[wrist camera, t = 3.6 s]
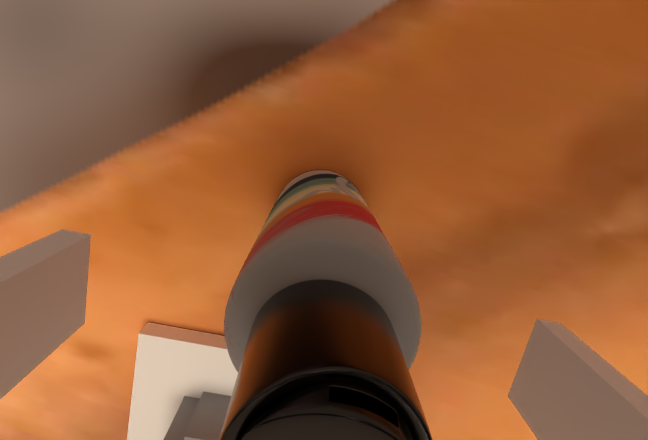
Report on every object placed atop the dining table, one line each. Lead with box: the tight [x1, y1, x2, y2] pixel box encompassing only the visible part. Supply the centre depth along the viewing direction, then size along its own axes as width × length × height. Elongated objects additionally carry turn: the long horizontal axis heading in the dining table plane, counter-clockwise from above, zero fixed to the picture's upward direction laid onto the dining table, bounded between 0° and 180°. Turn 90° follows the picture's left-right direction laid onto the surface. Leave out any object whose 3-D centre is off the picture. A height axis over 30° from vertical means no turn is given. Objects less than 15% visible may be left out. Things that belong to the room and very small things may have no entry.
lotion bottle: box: [219, 170, 432, 440], centre depth 16 cm, size 6×6×20 cm
